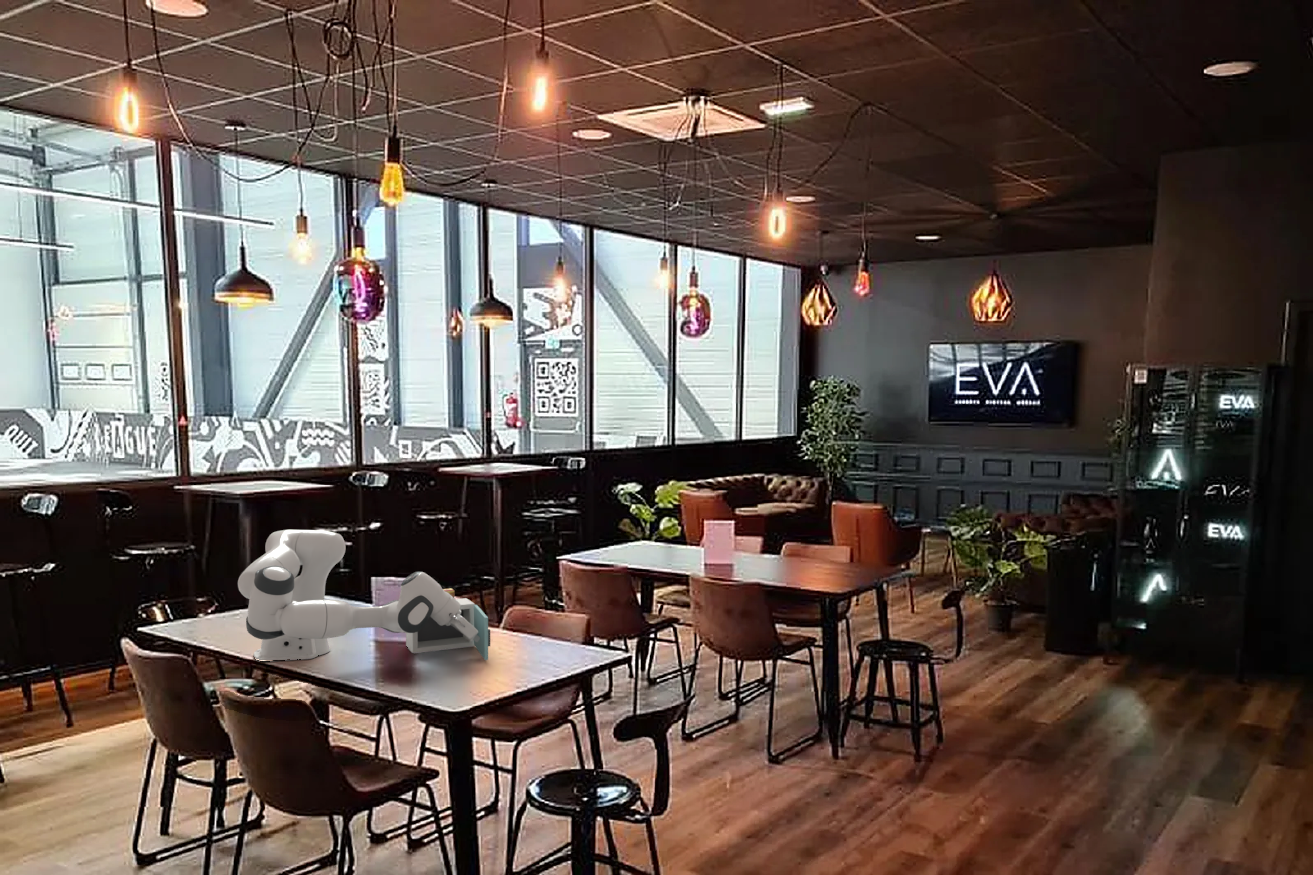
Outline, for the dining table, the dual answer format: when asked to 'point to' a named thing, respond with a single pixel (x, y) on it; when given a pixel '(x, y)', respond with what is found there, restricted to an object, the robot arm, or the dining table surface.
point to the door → (482, 632)
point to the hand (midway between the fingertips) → (477, 639)
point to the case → (442, 633)
